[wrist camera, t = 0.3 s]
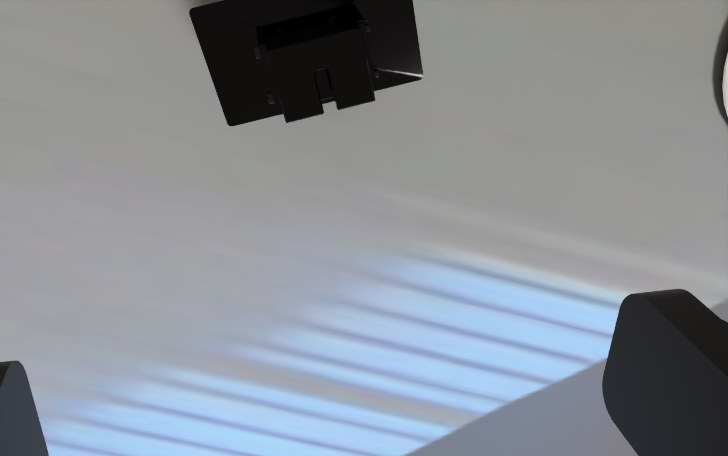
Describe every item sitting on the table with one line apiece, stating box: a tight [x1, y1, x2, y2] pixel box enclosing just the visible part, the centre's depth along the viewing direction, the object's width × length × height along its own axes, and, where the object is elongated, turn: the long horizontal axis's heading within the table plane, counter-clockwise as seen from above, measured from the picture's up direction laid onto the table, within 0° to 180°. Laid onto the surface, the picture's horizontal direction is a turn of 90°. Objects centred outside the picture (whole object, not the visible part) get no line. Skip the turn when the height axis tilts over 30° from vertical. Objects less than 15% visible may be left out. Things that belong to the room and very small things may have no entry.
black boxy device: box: [189, 0, 423, 126], centre depth 27 cm, size 12×7×5 cm, turn 101°
